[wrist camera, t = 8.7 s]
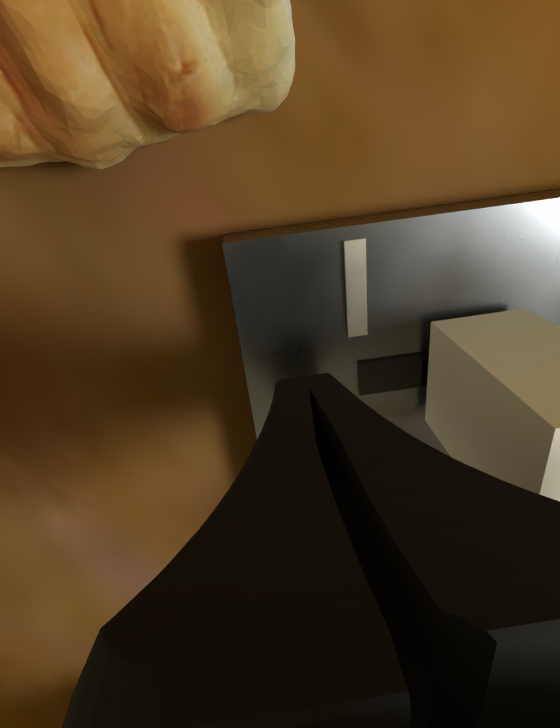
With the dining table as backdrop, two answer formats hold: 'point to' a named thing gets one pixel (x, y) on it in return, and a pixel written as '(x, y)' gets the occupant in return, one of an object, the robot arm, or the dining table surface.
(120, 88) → the pastry
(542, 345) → the fader
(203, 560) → the robot arm
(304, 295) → the console
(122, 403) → the dining table surface
